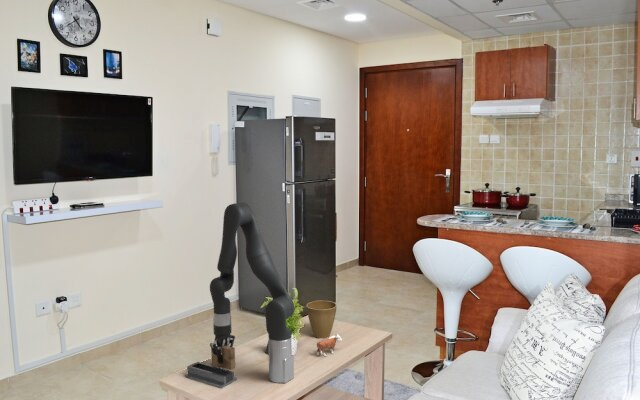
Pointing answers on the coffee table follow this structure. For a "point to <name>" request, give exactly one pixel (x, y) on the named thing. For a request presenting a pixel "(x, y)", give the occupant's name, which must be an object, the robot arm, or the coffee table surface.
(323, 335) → the plant pot
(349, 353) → the coffee table surface
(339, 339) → the bull figurine
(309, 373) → the coffee table surface
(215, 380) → the bottom track
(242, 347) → the coffee table surface
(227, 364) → the door panel
